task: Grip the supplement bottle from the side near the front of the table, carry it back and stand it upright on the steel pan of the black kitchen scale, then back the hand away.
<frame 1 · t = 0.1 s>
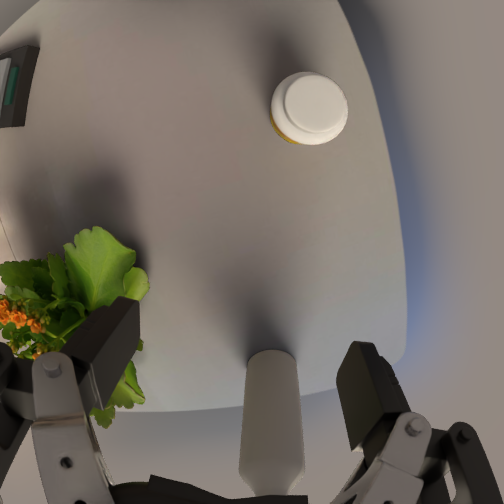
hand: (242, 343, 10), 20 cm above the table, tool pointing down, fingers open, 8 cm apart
supplement bottle: (298, 117, 26), on the table
scale: (8, 90, 24), on the table
potted flower: (101, 315, 35), on the table
bottle: (271, 366, 37), on the table
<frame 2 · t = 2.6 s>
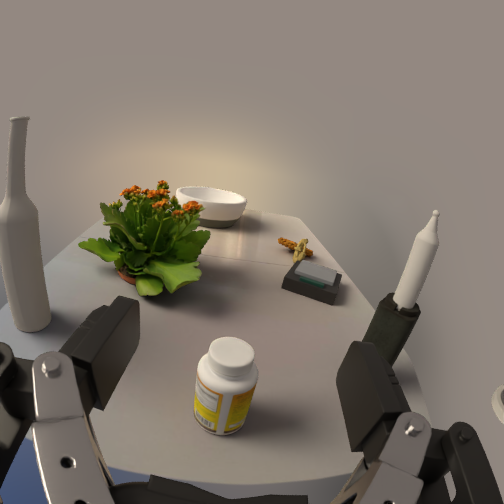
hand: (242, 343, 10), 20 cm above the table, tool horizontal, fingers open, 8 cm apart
bowl: (208, 219, 93), on the table
ornament: (294, 257, 77), on the table
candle: (362, 382, 36), on the table
supplement bottle: (218, 417, 28), on the table
scale: (312, 286, 62), on the table
potted flower: (140, 272, 53), on the table
bottle: (32, 319, 33), on the table
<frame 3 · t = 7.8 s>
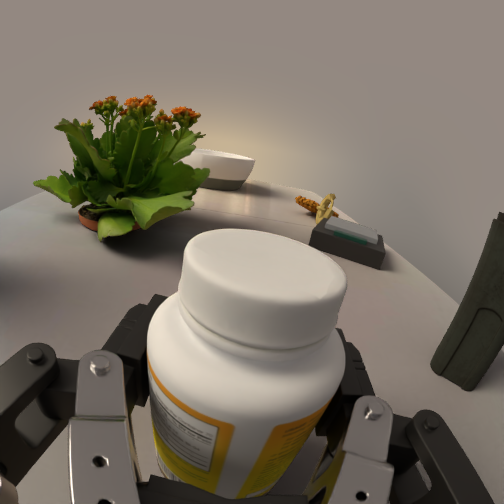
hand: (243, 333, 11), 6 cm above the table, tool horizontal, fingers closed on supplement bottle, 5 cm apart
bowl: (208, 183, 76), on the table
ornament: (316, 220, 60), on the table
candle: (454, 369, 19), on the table
supplement bottle: (217, 462, 11), on the table, touching gripper
scale: (346, 248, 45), on the table
potted flower: (110, 220, 37), on the table
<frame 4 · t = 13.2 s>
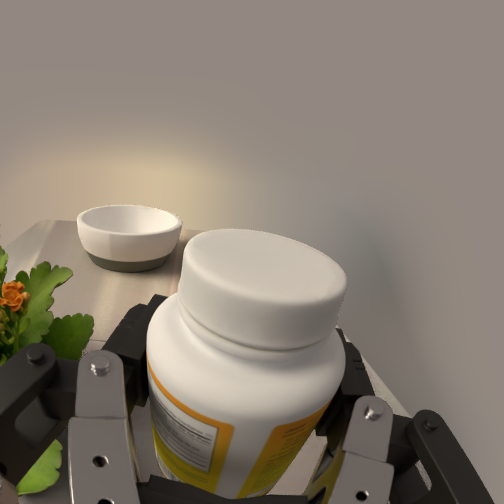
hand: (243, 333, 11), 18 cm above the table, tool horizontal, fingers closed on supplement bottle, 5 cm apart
bowl: (127, 255, 58), on the table
supplement bottle: (217, 462, 11), point 12 cm above the table, touching gripper
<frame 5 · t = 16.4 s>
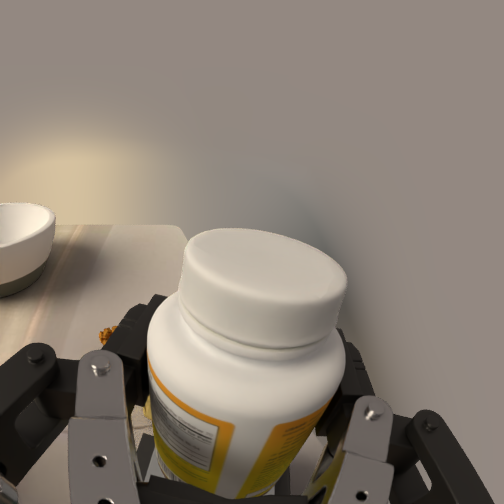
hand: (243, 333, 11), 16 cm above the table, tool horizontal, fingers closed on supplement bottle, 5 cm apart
bowl: (0, 272, 33), on the table
supplement bottle: (217, 462, 11), point 10 cm above the table, touching gripper
when the fingers open (9 cm above the table, at t = 18.7 s): supplement bottle stays where it is, resting on scale.
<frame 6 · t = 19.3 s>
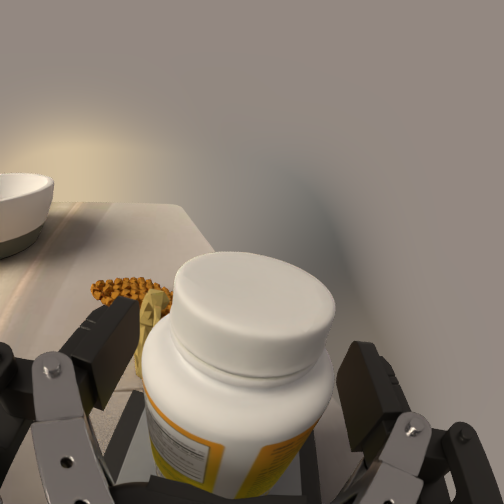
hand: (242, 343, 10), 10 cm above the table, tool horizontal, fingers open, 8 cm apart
ornament: (145, 334, 24), on the table
supplement bottle: (213, 469, 11), point 3 cm above the table, touching scale
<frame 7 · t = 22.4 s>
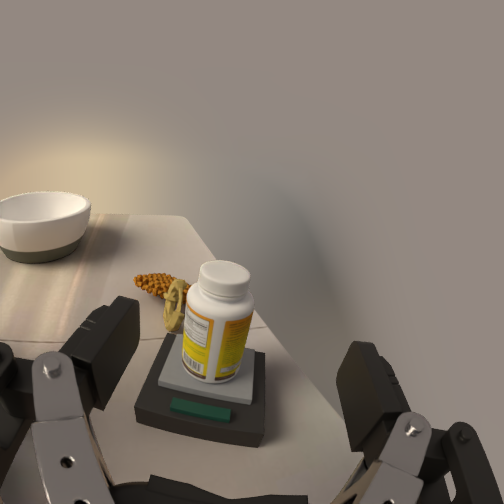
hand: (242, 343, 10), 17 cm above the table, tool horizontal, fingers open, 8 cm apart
bowl: (40, 245, 46), on the table
ornament: (168, 309, 39), on the table
supplement bottle: (209, 366, 26), point 3 cm above the table, touching scale
scale: (205, 395, 26), on the table
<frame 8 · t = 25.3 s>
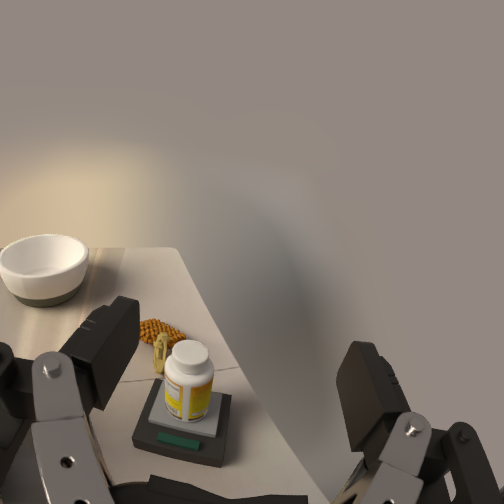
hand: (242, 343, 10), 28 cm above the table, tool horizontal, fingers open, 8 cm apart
bowl: (46, 286, 53), on the table
ornament: (158, 351, 46), on the table
supplement bottle: (186, 408, 33), point 3 cm above the table, touching scale
scale: (184, 426, 33), on the table
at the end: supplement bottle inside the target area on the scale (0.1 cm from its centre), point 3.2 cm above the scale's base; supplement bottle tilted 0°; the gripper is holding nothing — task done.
